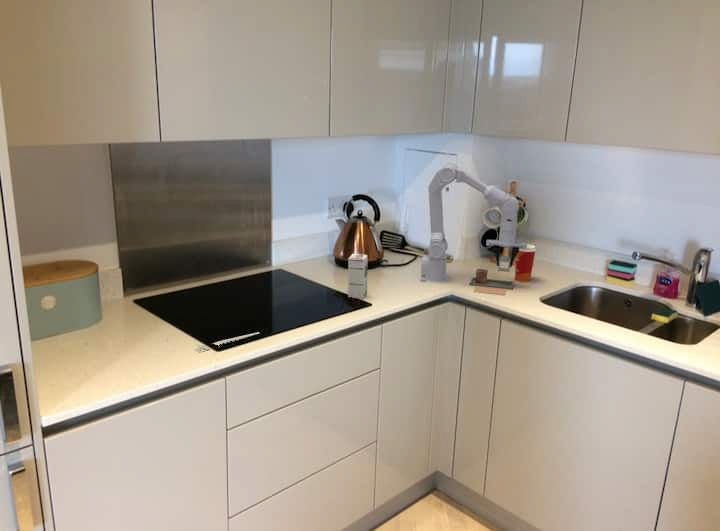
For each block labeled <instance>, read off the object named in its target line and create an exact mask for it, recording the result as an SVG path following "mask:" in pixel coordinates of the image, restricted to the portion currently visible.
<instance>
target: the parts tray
mask: <svg viewBox="0 0 720 531" xmlns="http://www.w3.org/2000/svg"><path fill="white" fill-rule="evenodd" d="M475 278H476V277H473V276H472V277H471V278H470V282H469V286H473V287H474V286H483V287H491V288H500V289H506V290H510V291H513V288H514V281H507V280H500V279H491V278H487V283H486V284H479V283H475Z"/></svg>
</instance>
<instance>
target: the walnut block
mask: <svg viewBox="0 0 720 531" xmlns="http://www.w3.org/2000/svg"><path fill="white" fill-rule="evenodd" d="M488 272H489V269H485V268H484V269H483V268H476V270H475V277H474V278H475V283H479V284H486V283H487V279H488Z"/></svg>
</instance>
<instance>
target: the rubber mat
mask: <svg viewBox="0 0 720 531" xmlns="http://www.w3.org/2000/svg"><path fill="white" fill-rule="evenodd" d="M506 291H507V289H500V288H491V287H483V286H475V287H474V290H473V292H474V293H479V294H489V295H495V296H496V295H497V296H504V297H505V296H506Z"/></svg>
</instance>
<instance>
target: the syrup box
mask: <svg viewBox="0 0 720 531" xmlns="http://www.w3.org/2000/svg"><path fill="white" fill-rule="evenodd" d="M368 259H369V258H368V254H366V253H365V254H364V253H351V254H350V256H349V257H348V259H347V260H348V261H347V262H348V265H347V266H348V268H347V269H348V271H347V272H348V276H347V279H348V280H347V284H348V285H347V286H348V287H347V297H348V298H350V297H352V298H351V299H359V298H360V299H363V300H364V299H365V297H367V295H368V266H369V265H368Z"/></svg>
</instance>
